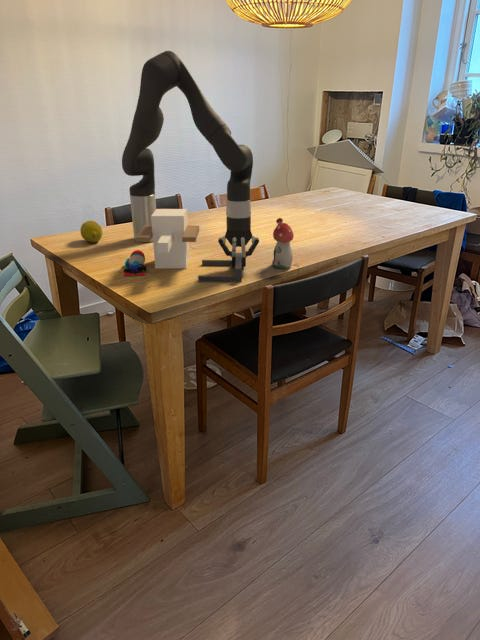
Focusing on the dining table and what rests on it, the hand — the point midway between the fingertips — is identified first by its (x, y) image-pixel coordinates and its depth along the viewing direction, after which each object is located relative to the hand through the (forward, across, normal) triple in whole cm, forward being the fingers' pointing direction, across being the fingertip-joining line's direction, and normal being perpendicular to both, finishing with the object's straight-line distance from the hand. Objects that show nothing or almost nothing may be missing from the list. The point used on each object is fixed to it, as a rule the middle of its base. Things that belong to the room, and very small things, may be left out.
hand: (238, 267), depth 154 cm
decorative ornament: (0, -14, -3) cm, 14 cm away
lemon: (+1, +56, -31) cm, 64 cm away
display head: (0, +22, +1) cm, 22 cm away
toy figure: (+1, +33, 0) cm, 33 cm away
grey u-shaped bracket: (0, +6, +4) cm, 7 cm away
